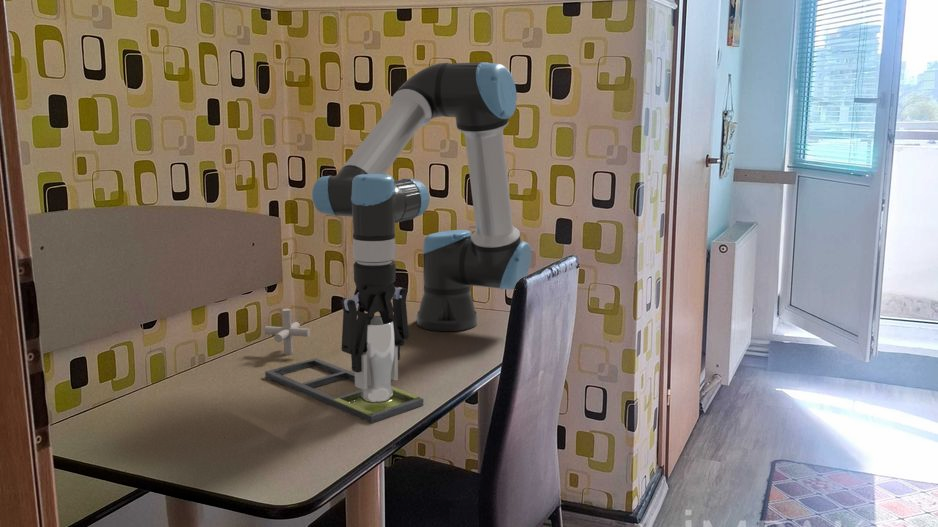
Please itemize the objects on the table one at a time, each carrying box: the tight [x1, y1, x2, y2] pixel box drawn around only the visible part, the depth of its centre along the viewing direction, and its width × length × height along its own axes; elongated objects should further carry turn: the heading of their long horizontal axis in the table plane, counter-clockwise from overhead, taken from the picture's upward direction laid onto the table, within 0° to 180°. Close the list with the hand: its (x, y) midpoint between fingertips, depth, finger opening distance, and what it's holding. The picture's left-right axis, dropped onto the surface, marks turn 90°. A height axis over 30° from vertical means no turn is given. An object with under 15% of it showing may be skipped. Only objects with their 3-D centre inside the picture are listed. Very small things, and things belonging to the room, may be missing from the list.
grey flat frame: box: [264, 358, 424, 424], centre depth 167 cm, size 12×34×1 cm, turn 45°
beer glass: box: [361, 315, 395, 404], centre depth 158 cm, size 7×7×15 cm
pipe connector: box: [263, 308, 311, 356], centre depth 189 cm, size 10×10×10 cm
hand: (376, 382), depth 159 cm, fingers closed on beer glass, 7 cm apart
